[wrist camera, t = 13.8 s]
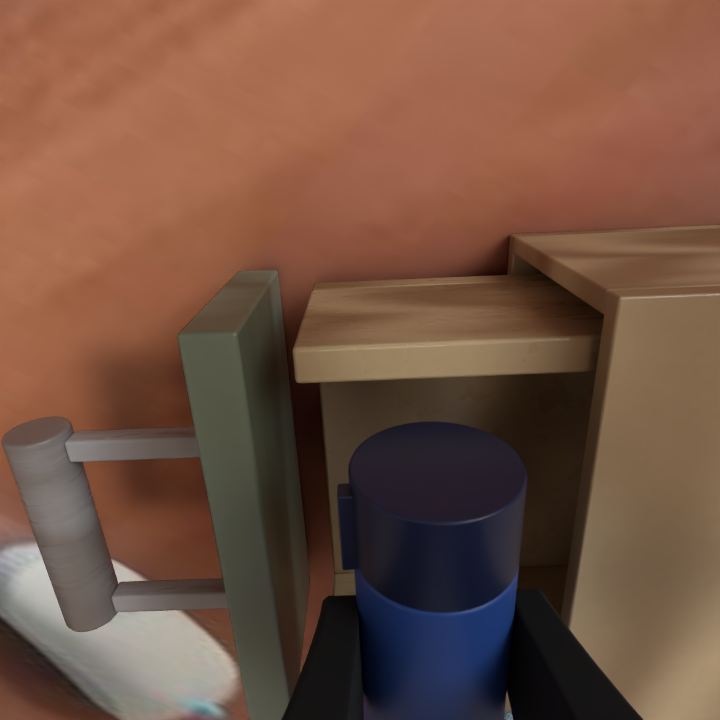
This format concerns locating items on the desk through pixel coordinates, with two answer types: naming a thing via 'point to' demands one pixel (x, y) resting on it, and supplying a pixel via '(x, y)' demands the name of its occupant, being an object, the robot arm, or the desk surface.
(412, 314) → the drawer
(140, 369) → the desk surface
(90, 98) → the desk surface
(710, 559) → the cabinet
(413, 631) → the marker
